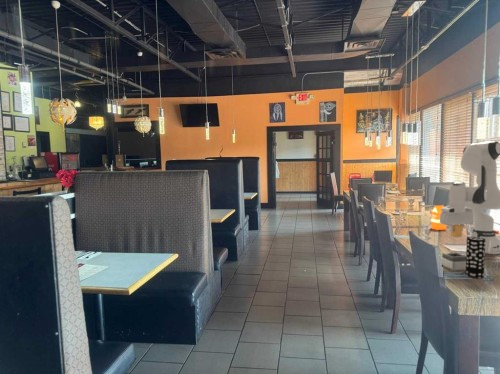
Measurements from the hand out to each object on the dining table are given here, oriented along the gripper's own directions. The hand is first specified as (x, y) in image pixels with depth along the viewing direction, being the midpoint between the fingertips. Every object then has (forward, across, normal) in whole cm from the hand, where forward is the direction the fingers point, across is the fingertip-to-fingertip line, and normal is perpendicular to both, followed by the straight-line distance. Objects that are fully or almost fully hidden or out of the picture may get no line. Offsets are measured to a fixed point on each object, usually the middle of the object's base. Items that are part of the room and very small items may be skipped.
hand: (456, 231), depth 227 cm
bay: (+18, +7, +12) cm, 22 cm away
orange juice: (+17, -50, -87) cm, 102 cm away
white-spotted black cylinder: (+18, +11, +29) cm, 36 cm away
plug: (+3, 0, 0) cm, 3 cm away
